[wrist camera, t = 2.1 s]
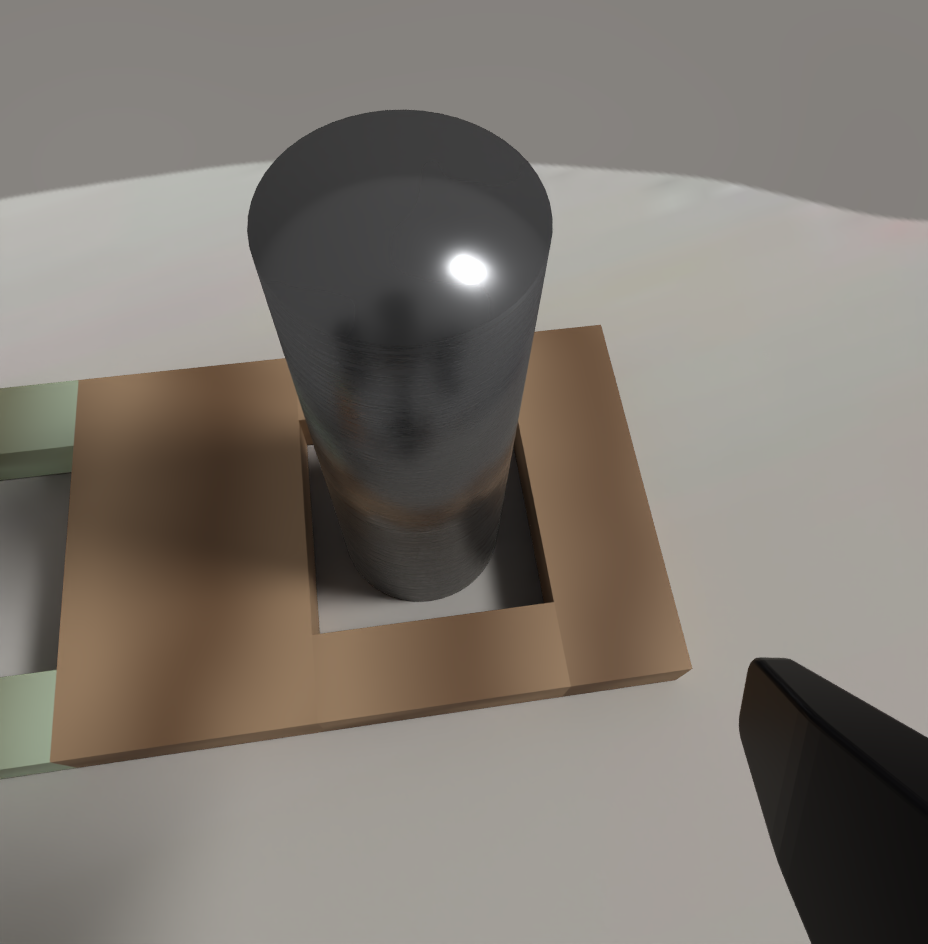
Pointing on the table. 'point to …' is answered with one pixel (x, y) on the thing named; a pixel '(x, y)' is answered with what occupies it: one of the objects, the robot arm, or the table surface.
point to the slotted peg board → (307, 569)
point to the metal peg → (406, 329)
